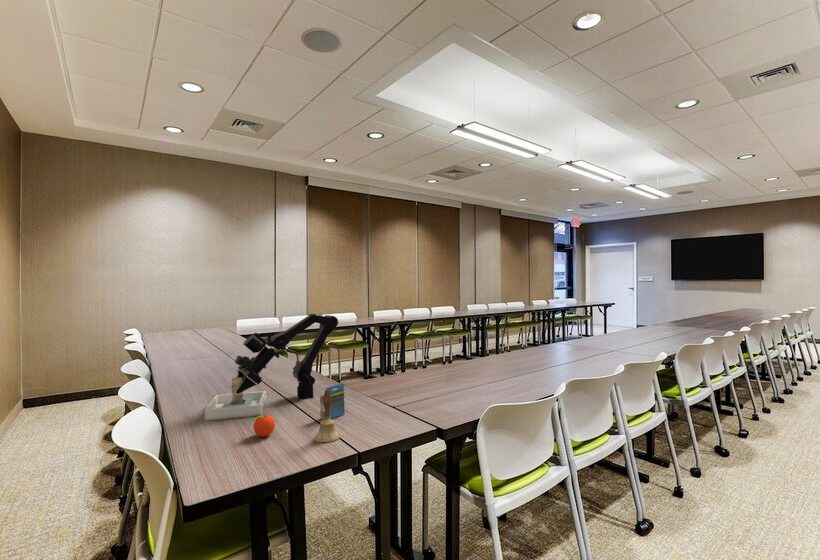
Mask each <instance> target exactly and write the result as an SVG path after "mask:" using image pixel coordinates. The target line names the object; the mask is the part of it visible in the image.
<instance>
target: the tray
mask: <svg viewBox="0 0 820 560" xmlns="http://www.w3.org/2000/svg"><path fill="white" fill-rule="evenodd" d="M266 402H267V391H266V390H263V391H251V392H250V391H249V392H243V404H236V405H232V393H228V394H227V393H226V394H217V395H215V397H214V398H213V399H212V400H211V402H210V403H209V404H208V405H207V406H206V408H205V409H204V421H205V422H207V421H216V420H217V421H218V420H226V419H235V418H238V419H239V418H246V417H258V416H262V414H263V411H264V407H265V404H266Z"/></svg>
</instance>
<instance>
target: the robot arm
mask: <svg viewBox="0 0 820 560" xmlns="http://www.w3.org/2000/svg"><path fill="white" fill-rule="evenodd" d="M314 324H319V327H318V332H317V334H316V336H315V337H314V340H313V341H312V342H311V345H310V347H309V349H308V350H307V352H306V354H305V356H304V358H303V359H302V360H301V361H299V360H297V361H296V363H295V366H294V367H292V370H293V371H292V375H293V378H294V379H296V380H297V382H298V385H297V386H296V387H297V388H296V390H297V391H296V392H297V393H296V395H297V397H298V399H310V398H311V399H312V398H314V384H315V383H316V378H315V377H313V375H311V374H312V371H313V365H314V362H315V360H316V358H317V356H318V355H319V353H320V351H321V350H322V347H323V345H324V343H326V340H327V338H328V336H329V335H330V334H332V333H333V331H335V329H336V328H337V326H338V325H339V320H338V318H337V316H335V315H334V316H333V315H328V314H327V315H319V314H316V313H310V314H308V315H307V316H306V317H304V318H302V319H301V320H300V321H298V322H297V323H296V324H294V325H292V326H290V327H289V328H288V329H286V330H283V331H281V332H278V333H276V334H274V335H272V336H271V337H268V338H266V339H265V338H262V337H261V336H260V335H259V334H258V333H257V332H254V333H253V334H251V335H250V336H249V337H247V338H246V339H245V340H244V341H243V346H245V348H247V350H249V351H250V352H252V353H253V354H256V353H258V354H256V356H253V357H251V358H250V357H249V356H246V355H244V356H242V355H239V354H238V355H237V356H236V358H235V361H234V364H236V365H238V367H237V369H236V370H237V376H236V377H242V378H243V382H242V384H241V385H240V386H239V388H238V389H237V391H236V393H237V394H239V393H241V392H243V393H244V392H245V391H247V390H248V389H251V388H253V387H255V386H257V385H260V384H261V382H263V378H262V377H261V376H260V373H261V372H262V371H263V369H264V370H265V369H266V368H267V365H268V364H269V363H270V362H271V360H273V359H274V357H276V358H277V359H279V358H280V351H278V350H283V349H285V347H286V346H287V345H289V343H290V342H291V341H292V340H293V338H295V337H297V336H298V335H299V334H301V333H302V332H303V331H305V330H307V329H308V328H309V327H311V326H312V325H314ZM267 346H269V347H267ZM276 350H277V351H276ZM231 389H232V386H231Z"/></svg>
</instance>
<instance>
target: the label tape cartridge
mask: <svg viewBox="0 0 820 560" xmlns="http://www.w3.org/2000/svg"><path fill="white" fill-rule="evenodd" d="M344 388H345V383H344V382H343V383H340V384H336V385H332V386H329V387H325V390H329V392H330V395H331V405H330V409H329V411H330V414H329V415H330V416H329V417H330V419H331V420H333V419H334V418H338V417H341V416H343V415H345V413H346V412H345V389H344ZM334 389H335V390H334ZM323 397H324V395H322V396H320V397H319V404H320V405H319V406H320V407H319V411H320V412H319V413H320V415H319V416H320V420H322V421H323V420H324V417H325V407H324V404H323Z"/></svg>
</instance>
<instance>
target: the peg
mask: <svg viewBox="0 0 820 560" xmlns="http://www.w3.org/2000/svg"><path fill="white" fill-rule="evenodd" d="M242 382H243V378H242V377H237V376H236V377H232V379H231V387H232V388H231V394H232V405H236V404H243V393H244V391H243V392H241V393H239V394H237V393H236V391H237V389H238V388H239V386H240V385H241V384H242Z"/></svg>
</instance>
